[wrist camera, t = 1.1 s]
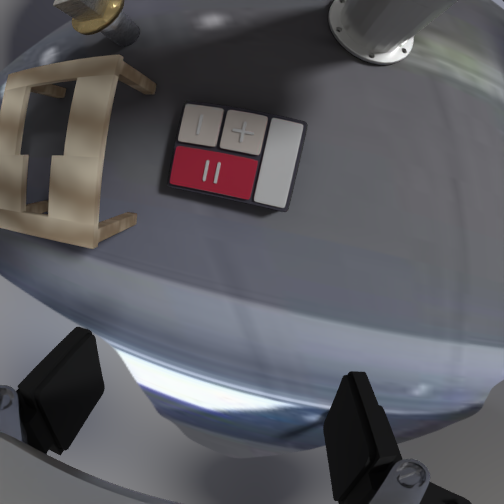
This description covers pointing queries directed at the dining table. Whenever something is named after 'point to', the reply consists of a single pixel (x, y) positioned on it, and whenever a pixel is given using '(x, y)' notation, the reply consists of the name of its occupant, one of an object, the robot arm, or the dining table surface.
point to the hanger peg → (101, 19)
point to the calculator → (237, 154)
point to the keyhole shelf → (75, 152)
